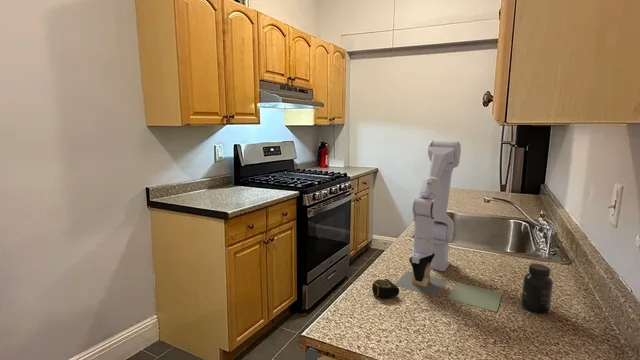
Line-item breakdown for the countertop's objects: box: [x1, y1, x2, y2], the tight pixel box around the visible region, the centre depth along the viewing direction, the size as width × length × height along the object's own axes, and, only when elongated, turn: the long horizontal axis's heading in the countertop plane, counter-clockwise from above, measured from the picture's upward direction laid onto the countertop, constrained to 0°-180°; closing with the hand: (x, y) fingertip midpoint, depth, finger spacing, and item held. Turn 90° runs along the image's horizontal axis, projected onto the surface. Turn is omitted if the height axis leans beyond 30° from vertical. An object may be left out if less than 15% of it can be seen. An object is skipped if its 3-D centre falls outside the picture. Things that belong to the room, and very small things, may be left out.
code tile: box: [393, 270, 447, 297], centre depth 113 cm, size 13×13×1 cm
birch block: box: [411, 263, 432, 287], centre depth 112 cm, size 4×4×6 cm
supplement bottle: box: [520, 263, 554, 315], centre depth 97 cm, size 7×7×12 cm
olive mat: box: [446, 281, 503, 313], centre depth 104 cm, size 13×13×1 cm
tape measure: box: [371, 278, 400, 299], centre depth 104 cm, size 7×7×4 cm
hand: (421, 277), depth 112 cm, fingers closed on birch block, 4 cm apart
